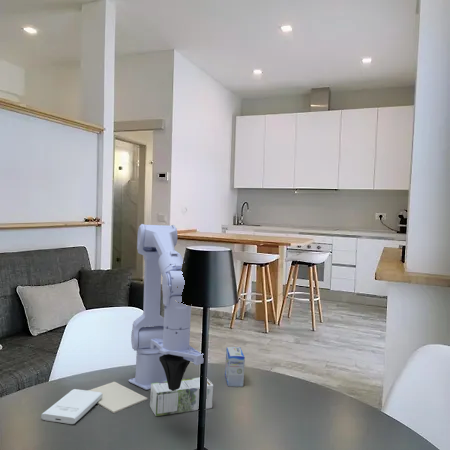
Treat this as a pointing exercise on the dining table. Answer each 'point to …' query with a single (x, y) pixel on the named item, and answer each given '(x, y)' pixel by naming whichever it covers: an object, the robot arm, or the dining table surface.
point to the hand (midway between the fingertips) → (174, 388)
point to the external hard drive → (72, 406)
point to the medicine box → (234, 367)
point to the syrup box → (178, 397)
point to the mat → (117, 397)
